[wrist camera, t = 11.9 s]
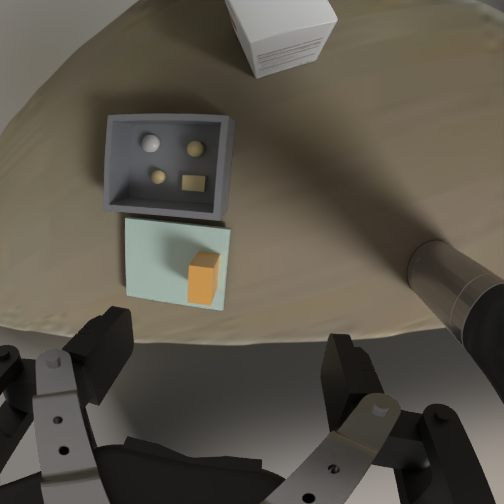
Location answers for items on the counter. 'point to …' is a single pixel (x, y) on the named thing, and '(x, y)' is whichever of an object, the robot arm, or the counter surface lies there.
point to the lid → (176, 262)
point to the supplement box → (281, 31)
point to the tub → (168, 164)
